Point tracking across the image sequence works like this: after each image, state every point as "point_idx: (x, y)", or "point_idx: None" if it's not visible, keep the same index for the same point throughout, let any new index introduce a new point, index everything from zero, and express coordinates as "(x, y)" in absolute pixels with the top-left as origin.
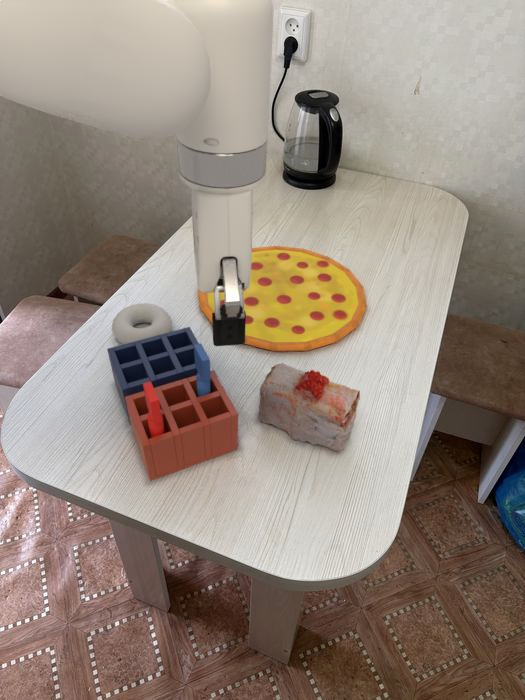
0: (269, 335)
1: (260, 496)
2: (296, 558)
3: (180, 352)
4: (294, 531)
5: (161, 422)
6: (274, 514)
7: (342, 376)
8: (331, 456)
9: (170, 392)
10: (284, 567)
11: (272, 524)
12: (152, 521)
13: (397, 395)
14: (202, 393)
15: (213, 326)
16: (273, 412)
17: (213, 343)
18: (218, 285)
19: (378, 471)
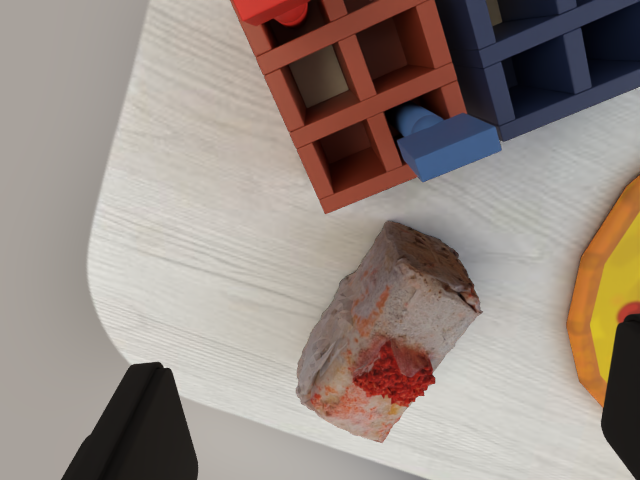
0: (629, 254)
1: (220, 216)
2: (115, 266)
3: (564, 51)
4: (160, 266)
5: (278, 21)
6: (188, 238)
7: (486, 372)
8: (305, 334)
9: (419, 31)
10: (98, 248)
11: (169, 234)
12: (150, 8)
13: (429, 445)
14: (402, 123)
15: (72, 470)
16: (372, 266)
17: (129, 368)
18: (619, 379)
19: (277, 395)
